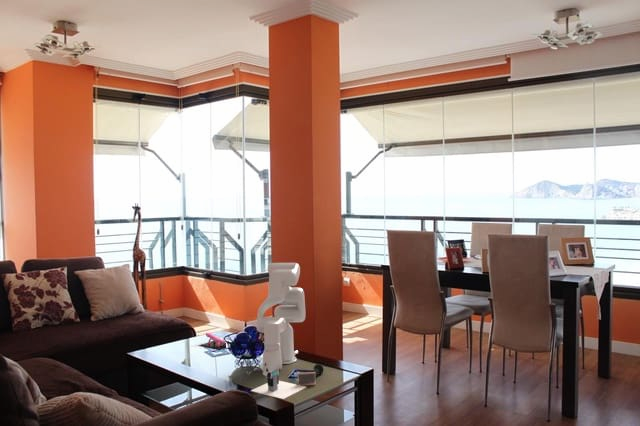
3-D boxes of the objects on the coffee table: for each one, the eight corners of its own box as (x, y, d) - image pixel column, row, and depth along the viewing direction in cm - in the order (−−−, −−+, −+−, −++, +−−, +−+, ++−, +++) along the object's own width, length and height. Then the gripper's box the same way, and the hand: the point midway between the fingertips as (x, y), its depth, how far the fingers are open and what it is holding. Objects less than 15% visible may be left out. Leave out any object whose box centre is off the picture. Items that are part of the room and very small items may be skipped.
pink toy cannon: (214, 341, 359) (214, 329, 359) (236, 345, 347) (236, 334, 347) (197, 346, 347) (196, 334, 347) (219, 351, 335) (219, 339, 335)
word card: (297, 384, 272) (297, 372, 272) (315, 383, 273) (315, 372, 273) (297, 385, 271) (297, 373, 271) (315, 384, 272) (315, 372, 271)
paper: (274, 380, 280) (274, 379, 280) (306, 387, 268) (306, 386, 268) (250, 391, 265) (250, 390, 265) (283, 399, 254) (283, 398, 254)
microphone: (309, 389, 274) (323, 373, 291) (312, 380, 272) (326, 364, 289) (300, 385, 275) (315, 369, 292) (303, 376, 274) (317, 360, 291)
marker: (272, 388, 267) (272, 367, 267) (277, 389, 265) (277, 369, 265) (267, 390, 264) (268, 369, 264) (273, 391, 263) (273, 371, 262)
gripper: (277, 341, 273) (277, 378, 273) (254, 350, 259) (255, 388, 260) (289, 344, 269) (289, 381, 269) (267, 352, 255) (268, 391, 256)
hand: (273, 384), depth 265 cm, fingers closed on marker, 3 cm apart
